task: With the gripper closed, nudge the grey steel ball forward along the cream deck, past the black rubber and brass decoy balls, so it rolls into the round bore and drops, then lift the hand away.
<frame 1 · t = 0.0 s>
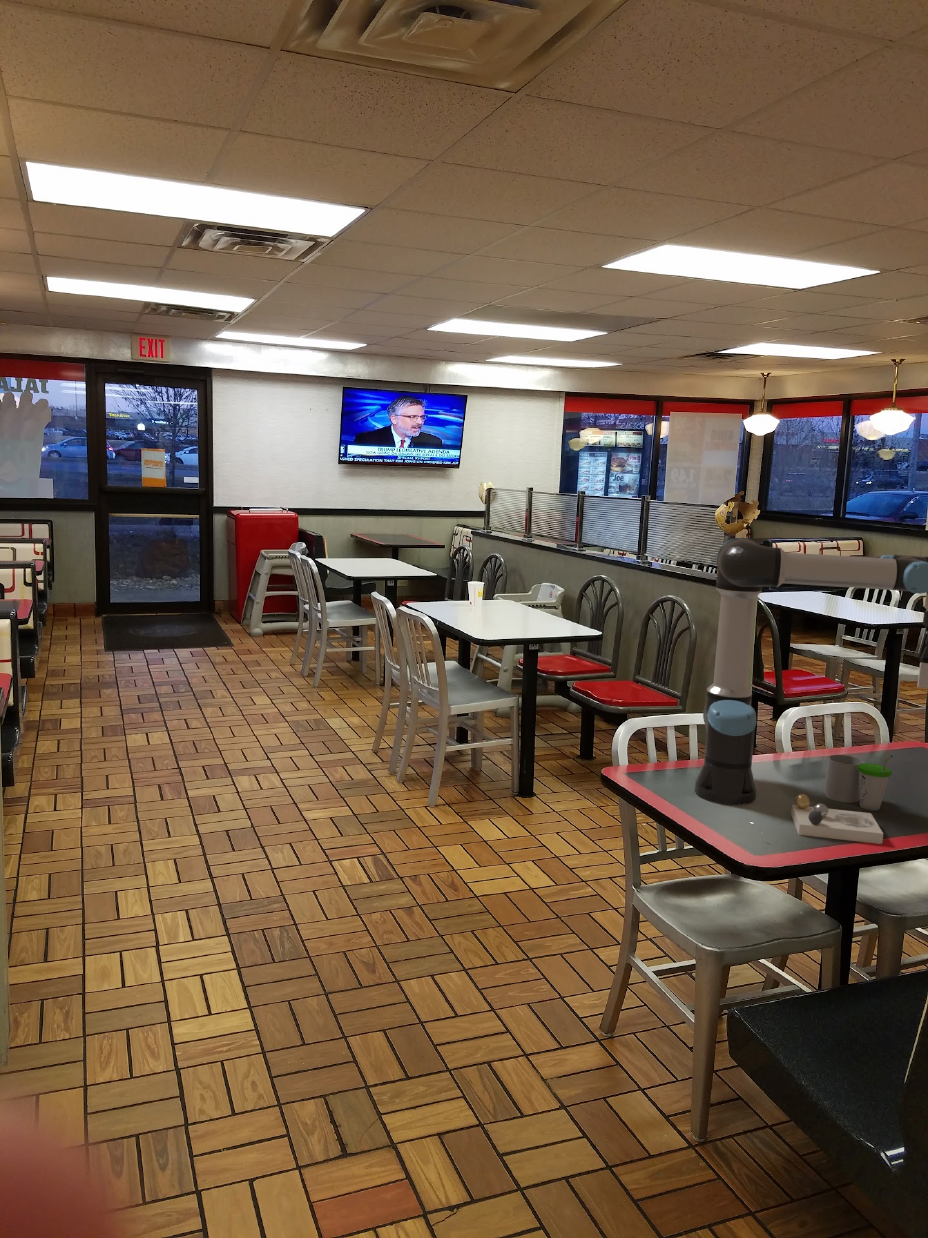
cup: (841, 797, 241), on the table
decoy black: (815, 817, 214), point 4 cm above the table, touching deck
deck: (834, 828, 218), on the table
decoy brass: (802, 801, 224), point 4 cm above the table, touching deck
steel ball: (821, 810, 218), point 4 cm above the table, touching deck
cup 2: (869, 808, 233), on the table
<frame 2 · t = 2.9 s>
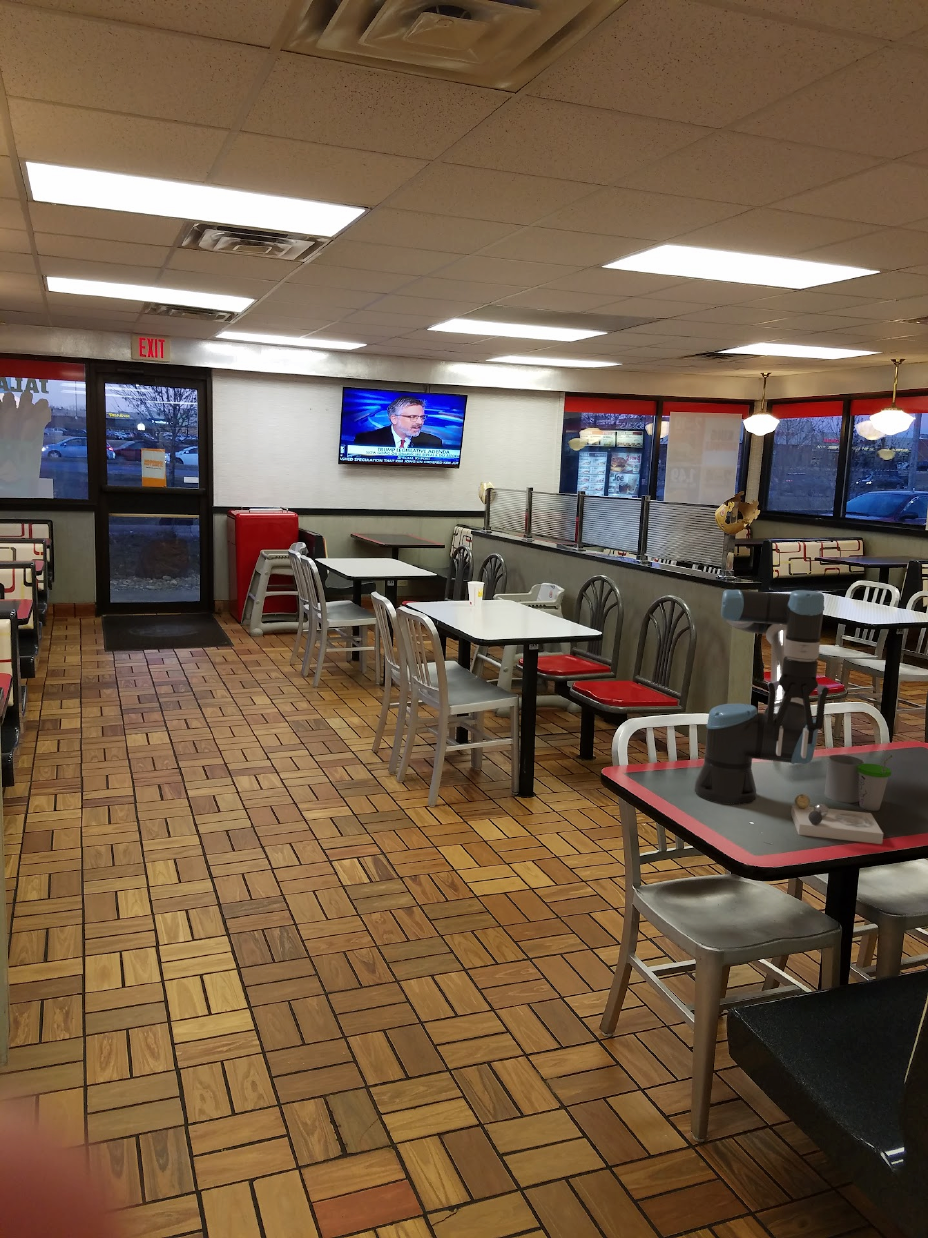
hand: (790, 755, 218), 17 cm above the table, fingers open, 5 cm apart
nothing on the table moved.
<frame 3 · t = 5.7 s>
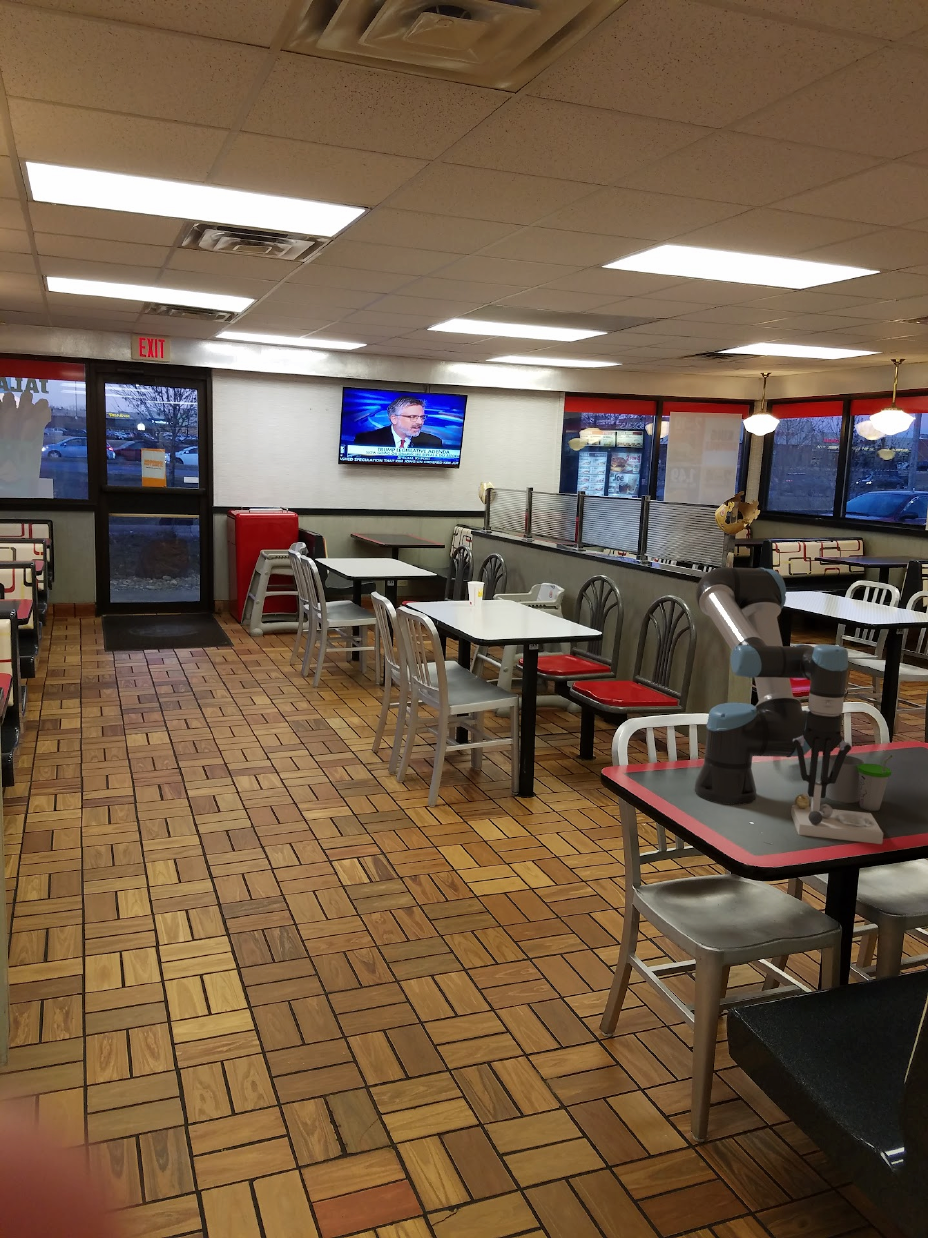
hand: (814, 810, 218), 4 cm above the table, fingers closed
steel ball: (825, 811, 218), point 4 cm above the table, tilted 31°, touching deck
everything else where it was.
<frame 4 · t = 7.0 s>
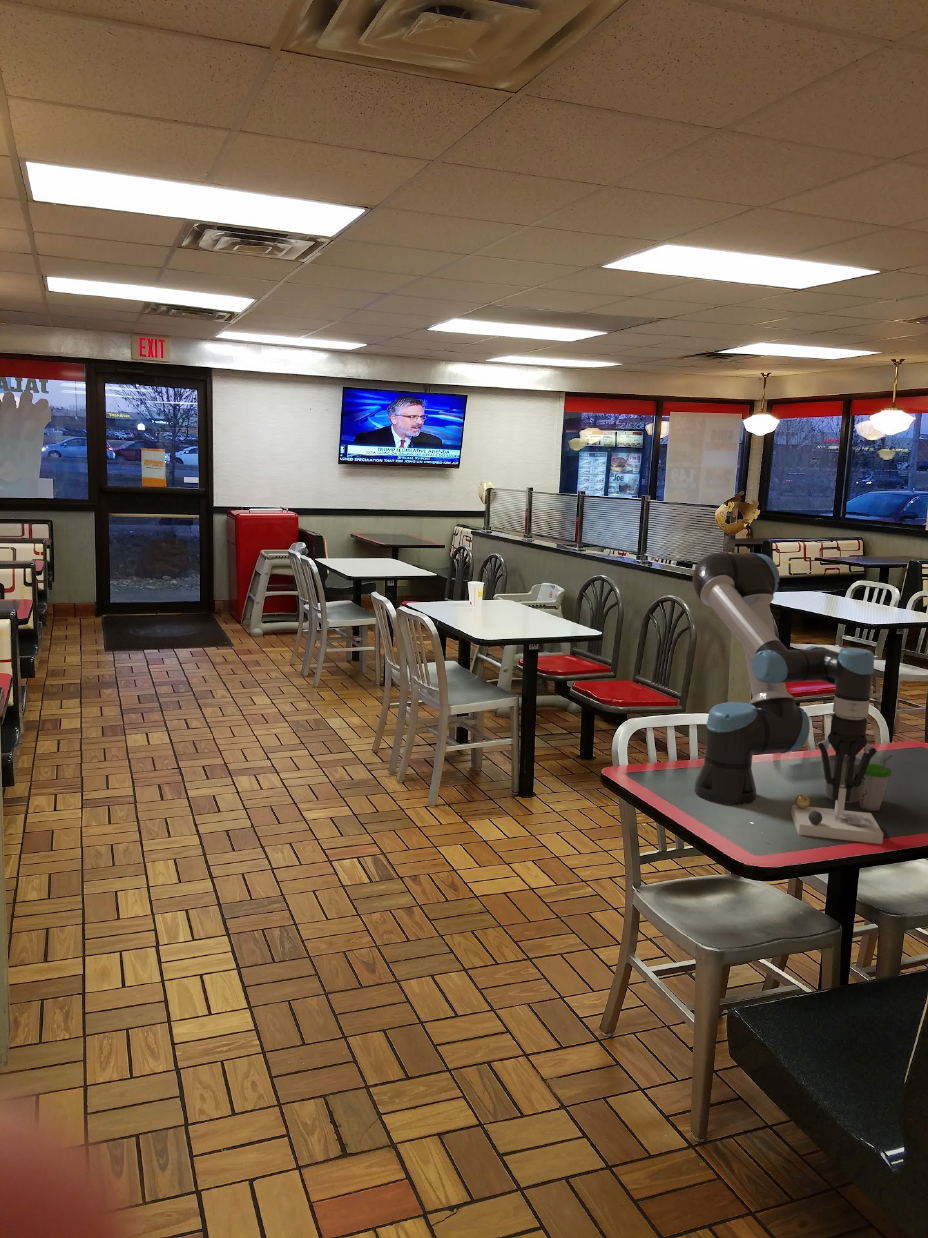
hand: (838, 813, 218), 4 cm above the table, fingers closed
steel ball: (851, 824, 217), point 2 cm above the table, tilted 95°
everything else where it was.
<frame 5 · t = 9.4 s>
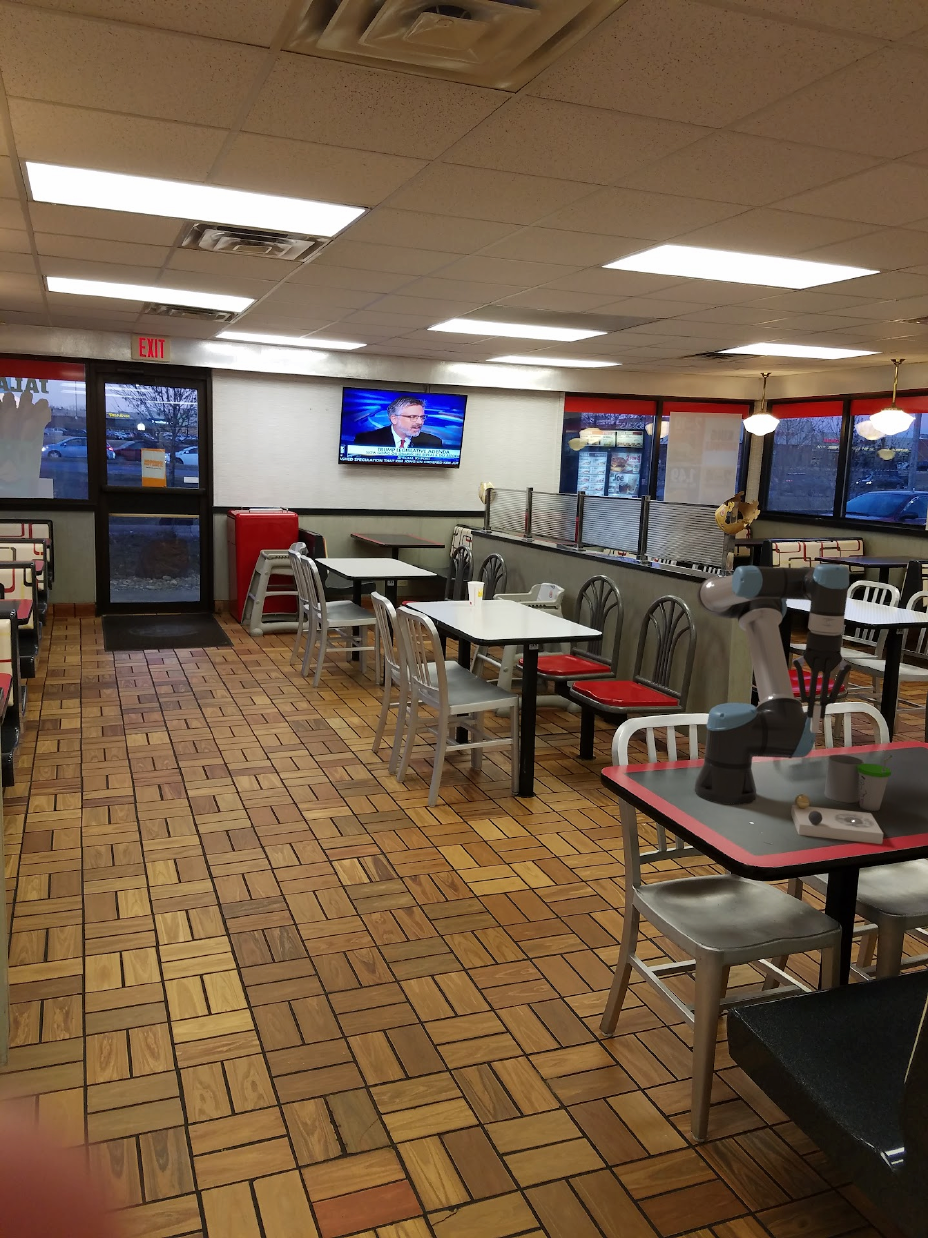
hand: (814, 731, 217), 23 cm above the table, fingers closed
steel ball: (856, 825, 217), point 2 cm above the table, tilted 54°
everything else where it was.
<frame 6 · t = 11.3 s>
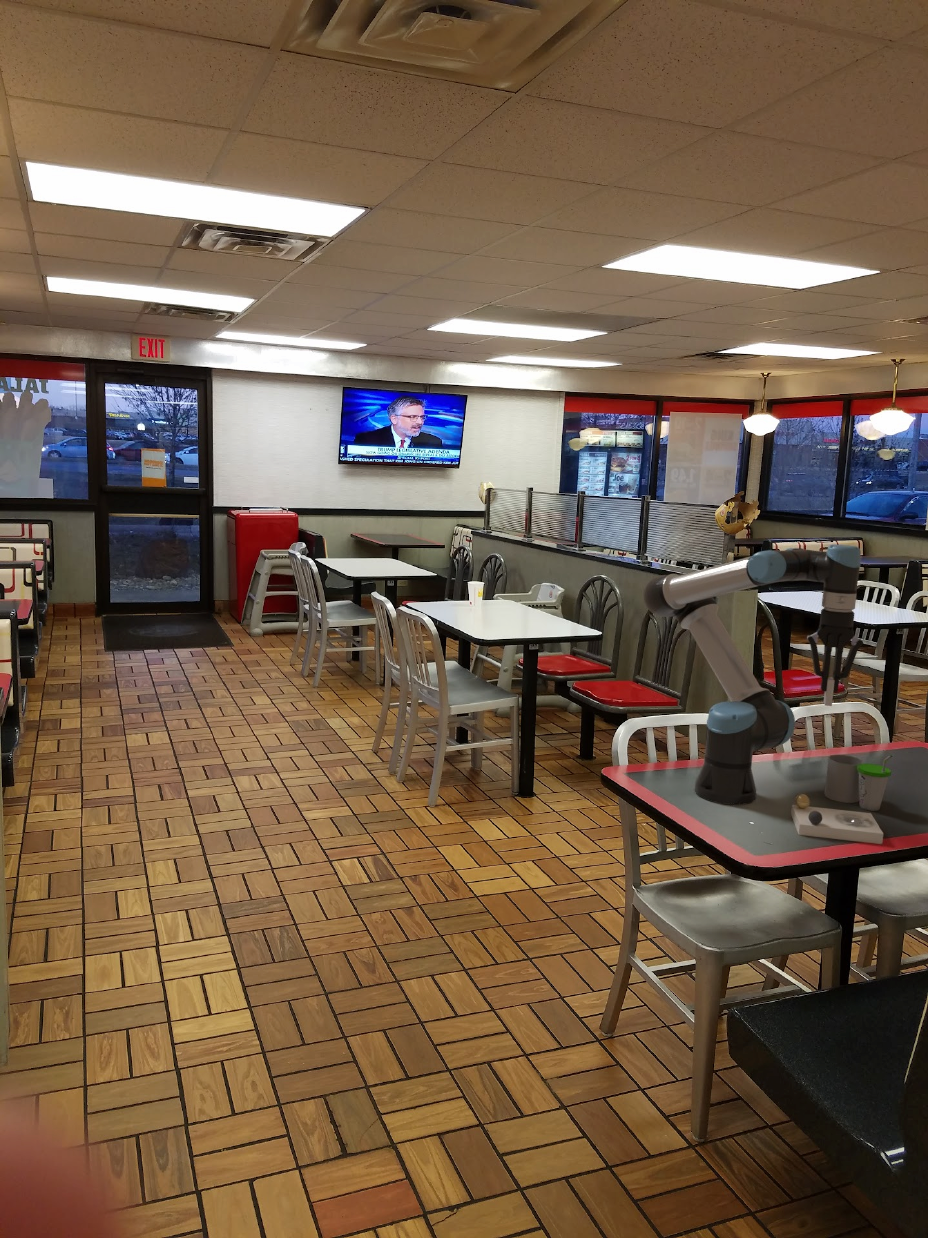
hand: (827, 704, 228), 26 cm above the table, fingers closed
nothing on the table moved.
at the end: steel ball 0.5 cm from the target spot in the deck, point 1.6 cm above the deck's base; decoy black moved 0.1 cm from its start; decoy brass moved 0.1 cm from its start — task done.
